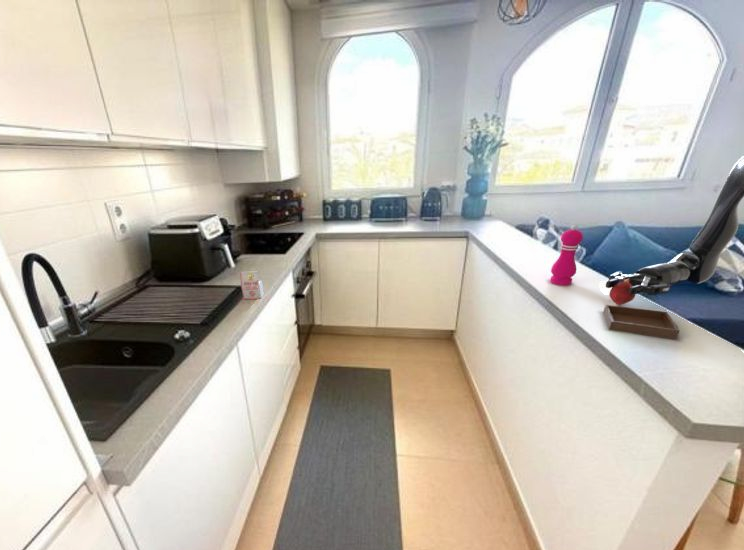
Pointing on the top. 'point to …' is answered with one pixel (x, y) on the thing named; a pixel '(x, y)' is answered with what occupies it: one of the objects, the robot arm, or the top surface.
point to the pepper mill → (566, 257)
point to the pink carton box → (251, 285)
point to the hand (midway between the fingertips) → (619, 287)
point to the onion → (621, 293)
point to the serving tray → (640, 321)
